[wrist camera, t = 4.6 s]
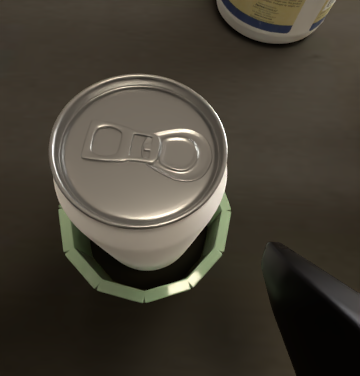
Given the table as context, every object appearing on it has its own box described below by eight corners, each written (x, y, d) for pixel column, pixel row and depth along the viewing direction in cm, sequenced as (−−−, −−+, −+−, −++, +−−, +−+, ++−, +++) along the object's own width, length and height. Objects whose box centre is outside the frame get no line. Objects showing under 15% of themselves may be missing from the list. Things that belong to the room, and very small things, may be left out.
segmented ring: (92, 316, 17) (71, 325, 13) (72, 181, 20) (51, 153, 16) (231, 274, 19) (253, 270, 14) (192, 156, 22) (201, 125, 18)
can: (187, 277, 18) (237, 259, 7) (95, 265, 18) (-2, 227, 7) (195, 192, 21) (243, 79, 9) (114, 180, 20) (67, 50, 9)
